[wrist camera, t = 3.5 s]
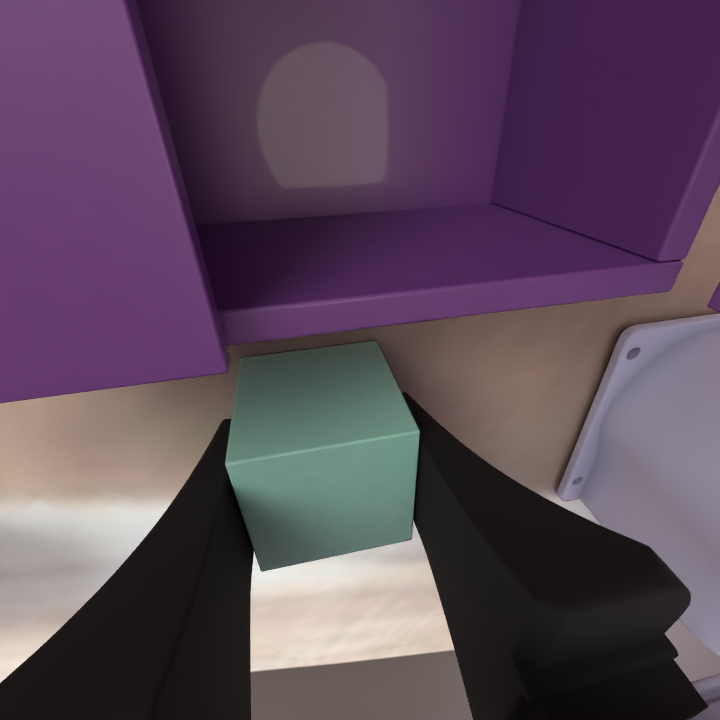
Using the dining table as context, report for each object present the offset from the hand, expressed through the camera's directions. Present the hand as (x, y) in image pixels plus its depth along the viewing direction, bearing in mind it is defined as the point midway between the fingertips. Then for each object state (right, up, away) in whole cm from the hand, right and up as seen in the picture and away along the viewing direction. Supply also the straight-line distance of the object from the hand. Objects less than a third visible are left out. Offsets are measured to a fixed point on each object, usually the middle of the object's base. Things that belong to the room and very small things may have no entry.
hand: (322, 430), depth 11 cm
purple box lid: (+6, +6, -12) cm, 15 cm away
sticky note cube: (0, +1, +1) cm, 1 cm away
